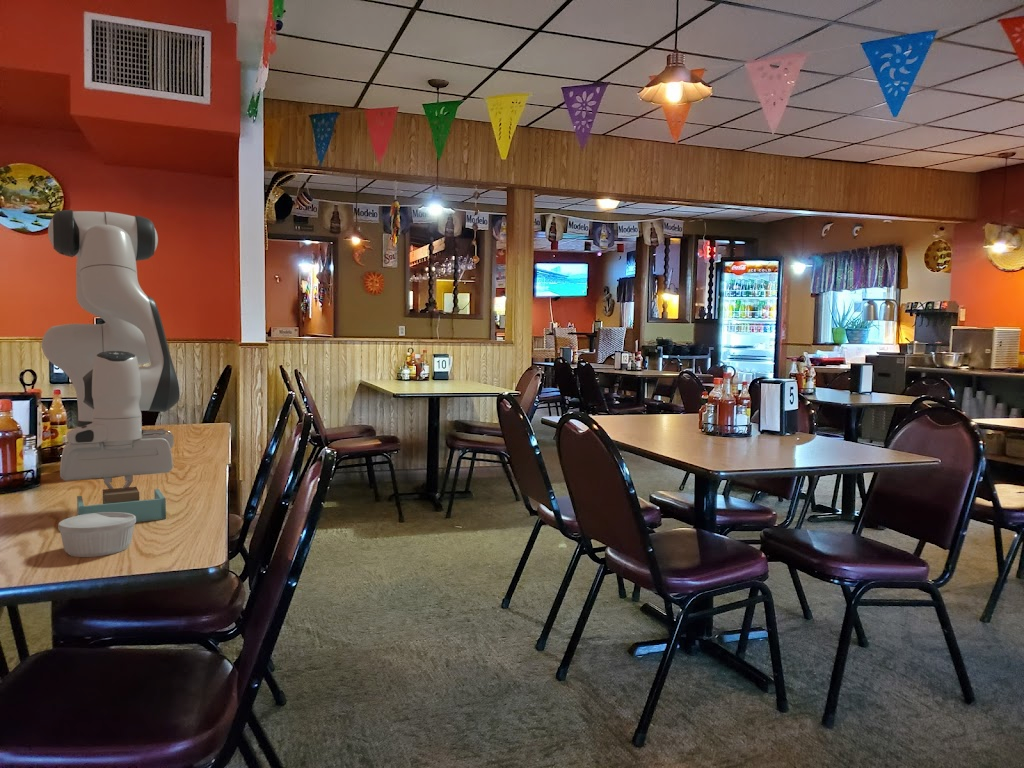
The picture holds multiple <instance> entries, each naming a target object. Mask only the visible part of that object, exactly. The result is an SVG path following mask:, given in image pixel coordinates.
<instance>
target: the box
mask: <svg viewBox="0 0 1024 768" xmlns="http://www.w3.org/2000/svg"><path fill="white" fill-rule="evenodd" d="M153 493H154V495H153V496H154V498H151V499H139V501H130V502H119V503H109V504H103V503H100V504H90V505H84V500H83V496H82V495H77V496H76V508H77V509H76V511H77V513H76V514H77V515H76V516H78V515H83V514H90V513H101V512H122V513H129V514H133V515H135V516H136V523H140V522H150V521H158V520H160V521H161V520H167V509H166V507H167V506H166V505H167V503H166V502H167V501H166V497H165V496H164V495H163V493H162V492H161V490H160V489H159V488H155V489H154V491H153Z"/></svg>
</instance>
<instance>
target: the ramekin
mask: <svg viewBox="0 0 1024 768" xmlns="http://www.w3.org/2000/svg"><path fill="white" fill-rule="evenodd" d="M136 523H137V522H136V516H135V515H133V514H129V513H122V512H101V513H90V514H83V515H78V516H77V515H74V516H70V517H68V518H67V517H66V518H64V519H62V520H61V521H59V522H58V525H57V527H58V528H57V529H58V531H59V532H60V536H61V541H62V545H63V550H64V552H65V553H67V554H68V555H69V556H71V557H75V558H96V557H104V556H109V555H114V554H118V553H120V552H123V551H125V550H127V549H128V548H129V546H130V545H131V544H132V540H133V534H134V529H135V524H136Z"/></svg>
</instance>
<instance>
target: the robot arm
mask: <svg viewBox="0 0 1024 768" xmlns="http://www.w3.org/2000/svg"><path fill="white" fill-rule="evenodd" d="M47 234H48V239H49V241H50V244H51V245H52V247H53V249H54V251H56V253H58V254H59V255H63V256H67V257H70V258H74V257H76V265H75V266H76V268H75V269H76V270H75V274H76V275H75V280H76V282H75V283H76V284H75V285H76V289H75V291H76V297H75V298H76V302H77V304H79V306H80V307H81V309H82V310H84V311H86V312H87V313H89V314H91V315H94V316H96V317H98V318H100V319H102V321H104V323H101V324H100V323H96V324H95V323H67V324H66V323H65V324H60V325H53V326H50V328H48V329H47V331H46V332H45V333H44V335H43V337H42V340H41V349H42V353H43V354H44V356H45V358H46V359H47V360H48V361H49V362H50V363H51V364H53V365H55V366H56V367H57V368H59V369H60V370H61V371H63V373H64V374H66V375H67V377H68V378H69V380H70V382H71V384H72V385H73V387H74V390H75V395H76V401H77V402H76V403H77V416H78V418H77V419H78V420H77V421H76V425H75V428H72V429H70V430H69V431H68V432H67V433H66V440H67V443H66V444H65V445H64V447H63V449H62V453H61V457H60V467H59V476H60V478H61V479H62V480H63V481H65V482H68V481H78V480H80V481H81V480H93V479H103V483H104V485H105V486H106V488H107V489H115V488H114V487H113V485H111V483H113V478H118V477H120V478H121V477H124V478H123V479H124V481H125V483H124V484H123V487H122V488H127V487H131V485H132V483H133V481H134V476H141V475H157V474H166V473H167V474H168V473H170V472H171V471H172V470H173V468H174V461H173V455H172V448H173V447H174V437H175V436H174V434H173V433H172V432H171V431H170V430H166V428H159V429H154V428H153V429H151V428H150V429H143V424H142V423H143V421H142V419H143V417H142V415H143V414H142V412H143V411H145V412H146V411H148V412H157V413H158V412H159V413H161V412H163V413H165V412H168V411H169V410H170V409H172V408H173V407H174V406H176V404H177V403H178V402H179V401H180V397H181V383H180V379H179V378H178V375H177V372H176V369H175V366H174V363H173V360H172V356H171V353H170V348H169V344H168V340H167V336H166V333H165V329H164V328H165V327H164V325H163V322H162V319H161V318H162V317H161V314H160V310H159V309H158V308H159V307H158V304H157V303H156V301H155V300H154V298H153V297H150V296H149V295H147V294H146V293H145V292H144V290H143V288H142V287H141V286H140V283H139V279H138V268H137V262H138V261H143V260H149V259H150V258H152V257H153V256H154V255H155V252H156V250H157V247H158V243H159V237H158V236H159V235H158V232H157V230H156V228H155V224H154V223H153V221H152V220H151V219H150V218H147V217H144V216H141V215H135V216H134V215H130V214H125V213H118V212H113V211H112V212H111V211H96V210H95V211H93V210H91V211H90V210H78V211H77V210H75V211H73V209H65V210H57V211H56V212H55V213H53V214H52V218H51V219H50V221H49V224H48V229H47ZM144 364H150V365H149V366H140V365H144Z"/></svg>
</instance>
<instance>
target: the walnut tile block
mask: <svg viewBox="0 0 1024 768" xmlns="http://www.w3.org/2000/svg"><path fill="white" fill-rule="evenodd" d="M130 501H140V491H139V489H138V487H137V486H129V487H127V488H123V487H116V488H114V489H108V488H106V489H104V488H103V489H102V504H109V503H119V502H130Z"/></svg>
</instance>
